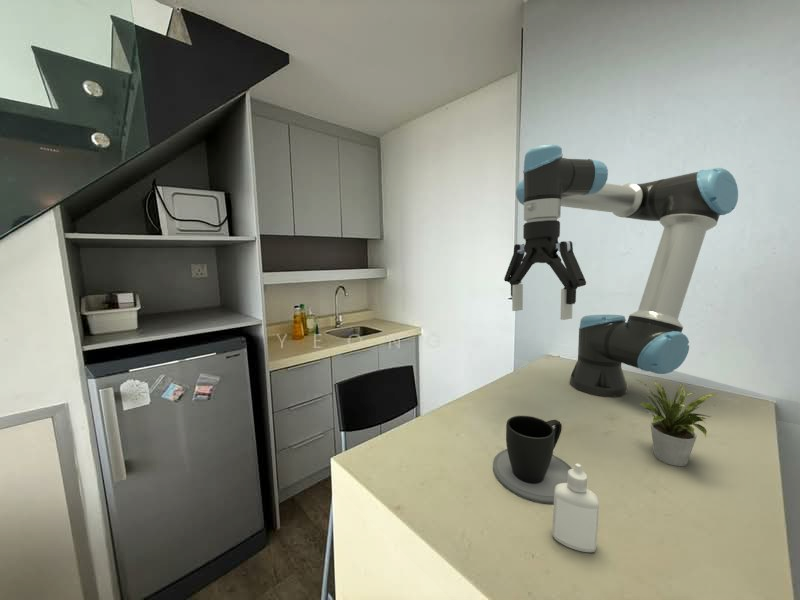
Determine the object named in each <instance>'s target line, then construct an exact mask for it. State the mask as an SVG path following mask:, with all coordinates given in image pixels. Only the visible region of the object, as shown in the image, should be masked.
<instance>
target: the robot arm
mask: <svg viewBox="0 0 800 600" xmlns="http://www.w3.org/2000/svg"><path fill="white" fill-rule="evenodd" d="M562 150H563V149H562V147H561V145H558V144H554V143H553V144H551V143H550V144H542V145H538V146H535V147H533V148H530V149H529V150H528V151H526V153H525V155H524V162H523V171H522V173H523V179H522V180H521V181H520V182H518V184H517V186H516V190H515V195H516V199H517V200H518V202H519V204H521V205H523V221H525V223H523V227H522V228H523V229H522V230H523V235H522V236H523V237H522V238H523V239H524V240H525V243H517V244H514V246H513V247H514V248H513V254H512V257H511V259H510V262H509V264H508V267H507V271H506V273H505V275H504V278H503V280H504V281H505V282H508V283H509V284H510V297H511V298H512V300H511V301H512V306H511V307H512V312H517V311H522V310H523V303H524V302H523V300H524V299H523V298H524V297H523V296H524V293H523V292H524V286H523V285H524V284H522V280H523V279H524V278H525V276H526V275H527V273H528V272H529V270H530V269H531V267H533V265H534V264H536V263H537V264H538V263H539V264H547V265H548V266H549V267H550V268H551V270H552V271H553V273H554V274H555V275H556V277H557V278H558V279H559V280H560V283H561V284H562V285H563V288H561V289H560V290H561V292H560V318H559V319H560V320H561V321H563V320H564V321H565V320H570V319H573V305H575V304H576V301H577V297H576V296H577V289H578V288H580V287H584V286H586V285H587V281H586V277H585V276H584V274H583V271H582V270H581V267H580V264H579V262H578V261H577V260H578V259H577V257H576V256H575V253H574V248H573V246H574V245H573V242H572V241H570V240H567V241H566V240H565V241H563V240H562V241H560V242H559V238H560V234H561V221H560V220H558V219H560V218H561V208H562V207H565V208H571V209H572V208H573V209H582V210H589V211H598V212H605V213H612V214H613V215H614V216H616V217H619V218H626V219H632V220H639V221H650V222H651V221H652V222H659V223H660V225H661V226H663V231H662V234H661V238H660V240H659V243H658V247H657V250H656V251H655V252H656V253H655V255H654V258H653V262H652V265H651V268H650V272H649V275H648V278H647V282H646V285H645V286H644V291H643V294H642V297H641V299H640V303H639V306H638V310H637V311H635V312H633V313H630V314H629V316H628V319H626V317H625V315H622V314H621V315H620V314H589V315H584V316H583V317H581V319H580V323H579V327H578V347H577V349H578V350H577V361H576V364H575V366H574V367H573V370H572V373H570V374H571V375H570V377H569V378H570V379H569V381H570V382H569V383H570V385H571V386H572V387H573V388H575V390H578V391H581V392H583V393H587V394H590V395H594V396H601V397H610V398H613V397H614V398H615V397H621V396H625V395H626V394H627V389H628V388H627V387H628V384H627V382H626V378H625V375H624V371H623V368H622V364H624V365H627V366H631V367H633V368H636V369H640V370H641V371H644V372H650V373H654V374H657V375H666V374H670V373H672V372H674V371H675V370H677V369H678V368H679V367H681V366H682V364H683V363H684V362H685V360H686V358H687V356H688V353H689V349H690V340H689V338H688V336H687V335H686V334H685V333H683V329H684V326H683V325H682V324H681V322H680V320H679V318H680V313H681V311H682V308H683V304H684V301H685V299H686V298H685V297H686V295H687V292H688V288H689V285H690V283H691V280H692V276H693V273H694V270H695V267H696V263H697V261H698V258H699V255H700V252H701V249H702V245H703V243H704V239H705V236H706V233H707V231H709V230H711V229H713V228H715V227H716V226H717V224H718V221H719V218H720V216H725V215H727V214H730V213H731V212H732V211H734V209H735V208H736V206H737V203H738V199H739V188H738V187H739V186H738V184H737V182H736V179H735V177H734V176H733V173H731V172H730V171H729V170H727V169H726V168H723V167H722V168H721V167H716V168H715V167H714V168H710V169H701V170H699V171H695V172H691V173H690V172H689V173H686V174H681V175H676V176H673V177H667V178H663V179H658V180H653V181H648V182H645V183H634V182H633V183H631V182H630V183H625V184H623V185H621V184H612V183H607V181H608V175H609V174H608V173H609V170H608V167H607V165H606V164H605V163H604V162H603V161H600V160H596V159H592V158H588V159H582V158H581V159H580V158H566V157H563V156H564V155H563V151H562ZM558 252H559V254H560V256H559V254H558ZM562 261H563V262H562Z"/></svg>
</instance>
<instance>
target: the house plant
mask: <svg viewBox="0 0 800 600" xmlns="http://www.w3.org/2000/svg"><path fill="white" fill-rule="evenodd" d="M631 379H632V380H634V381H635V380H636V381H637V382H639V383H641V384H643V385H644V386H645V387H646V388H648V390H649V391H647V394H648V393H649V394H651V395H652V396H653V397H654V399H653V398H651V396H649V395H647V394H645V396H646V398H648V399H650V400H651V402H652V403H653V404H651V403H649V402H642V403H640V404H639V405H640V406H643V407H644V409H645V410H649V411H652V412H653V413H655V415H654V414H653V413H650V415H651V416H652V417H653V418H652V422H650V428H651V429H650V430H651V437H652V439H651V440H652V447H653V454H654V456H655V457H656V458H657V459H658V460H659V461H662V462H663V463H665V464H668V465H672V466H676V467H685V466H687V464H688V462H689V459H690V456H691V455H692V451H693V448H694V445H695V443H696V440H697V433H695V428H694V427H693V426H695V427H696V429H698V430H699V431H700V432H702V433H703V435H704V436H705V437H707V432H708V431H707V429H706V428H705V427H704V426H703V425H701V424H699V422H704V423H706V421H705V420H707V417H708V418H711V416H709V415H706V414H700V413H692V412H694V411H695V410H697V409H699V408H700V407H705V406H706V404H705V405H702V404H703V403H705V402H706V401H707V400H708V399H709V398H712V397H714V396H716V395H717V393H710V394H706V395H703V396H701V397H698V398H697V399H695V400H694V401H693V400H692V402H691V403H689V404H688V405H687V406H686V405H684V402H685V400H686V397H687V396H689V395H691V394H695V393H696V391H694V392H691V393H687V394H686V390H685V387H684V386H683V385H684V383H685V381H683V382H682V383H680V385H679V386H678V387H677V390H676V391H675V396H674V398H673V400H670V401H668V398H667V395H666V394H667V393H666V390H665V388H664V386H663V385H662V383H660V381H658V380H656V379H655V381H652V384H653V386H654V388H656V391H657V393H658V395H657V394H655V393H654V392H653V391H652V390H651V388H650V387H649V386H648V385H647V384H646V383H644V382H643V381H641V380H638V379H635V378H633V377H631ZM656 382H657V383H658V384H657V383H656ZM681 387H682V388H681ZM680 389H681V392H680ZM679 392H680V394H679ZM639 395H642V396H644V394H641V393H640V394H639ZM678 396H679V399H678ZM655 400H656V401H657V403H658V404H657V403H656V401H655ZM677 400H678V402H677ZM699 405H700V406H699ZM701 405H702V406H701ZM658 406H659V407H660V408H661V410H662V411H661V410H660V408H659V407H658ZM714 406H716V405H715V404H714ZM683 408H685V409H684V410H683V411H682V409H683ZM681 411H682V412H681ZM645 413H647V414H649V412H647V411H645ZM662 413H663V414H662ZM708 420H709V419H708ZM709 421H710V420H709ZM697 422H698V423H697Z"/></svg>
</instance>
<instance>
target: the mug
mask: <svg viewBox="0 0 800 600" xmlns="http://www.w3.org/2000/svg"><path fill="white" fill-rule="evenodd" d="M562 427H563V425H562V423H561V422H560V421H559V420H558V419H551V420H547V421H546V420H543V419H541V418H539V417H535V416H532V415H531V416H530V415H515V416H512V417H510V418H508V419H507V421H506V427H505V429H506V431H505V432H506V433H505V441H506V449H507V451H508V456H509V460H510V463H511V467H512V471H513V474H514V475H515V476H516V477H517V478H518V479H519V480H521V481H523V482H526V483H530V484H537V483H540V482H542V481H543V480H544V477H545V474H546V472H547V470H548V467H549V465H550V462H551V459H552V455H554V449H555V448H556V445H557V444H558V441H559V439H560V436H561V434H562Z"/></svg>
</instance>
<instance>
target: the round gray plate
mask: <svg viewBox="0 0 800 600" xmlns="http://www.w3.org/2000/svg"><path fill="white" fill-rule="evenodd" d="M492 463H493V468H492V469H493V473H494V475H495V477H496V479H497V481H498V483H500V485H502V486H503V488H505V489H506V490H508V491H509V492H511V493H512V494H514V495H516V496H517V497H520V498H522V499H525V500H528V501H530V502H534V503H539V504H547V505H554V492H555V486H556V485H557V484H560V483H567V480H568V471H569V470H570V469H573V468H572V467H571V465H569V464H568V463H567V462H566V461H565V460H563V459H562V458H560V457H558V456H556V455H554V454H553V455H552V459H551V462H550V465H549V467H548V470H547V472H546V474H545V477H544V480H543V481H542V482H540V483H537V484H530V483H526V482H523V481H521V480H519V479H518V478H517V477H516V476H515V475H514V474H513V471H512V467H511V463H510V460H509V456H508V451H507V448H506V449H503V450H501V451H499V452H498V453H497V454H496V455H495V457H494V459H493V462H492Z"/></svg>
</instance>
